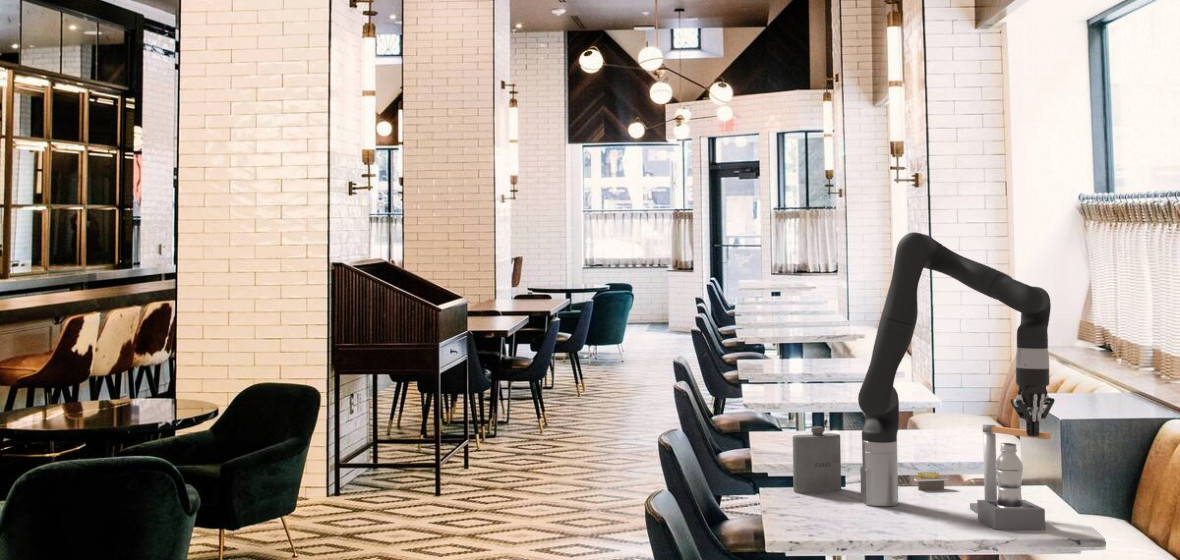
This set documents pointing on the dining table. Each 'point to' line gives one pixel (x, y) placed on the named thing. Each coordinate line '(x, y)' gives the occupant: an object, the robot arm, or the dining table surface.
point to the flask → (816, 462)
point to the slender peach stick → (1013, 431)
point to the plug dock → (987, 509)
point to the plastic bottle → (1009, 477)
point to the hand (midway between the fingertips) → (1032, 436)
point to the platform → (930, 481)
